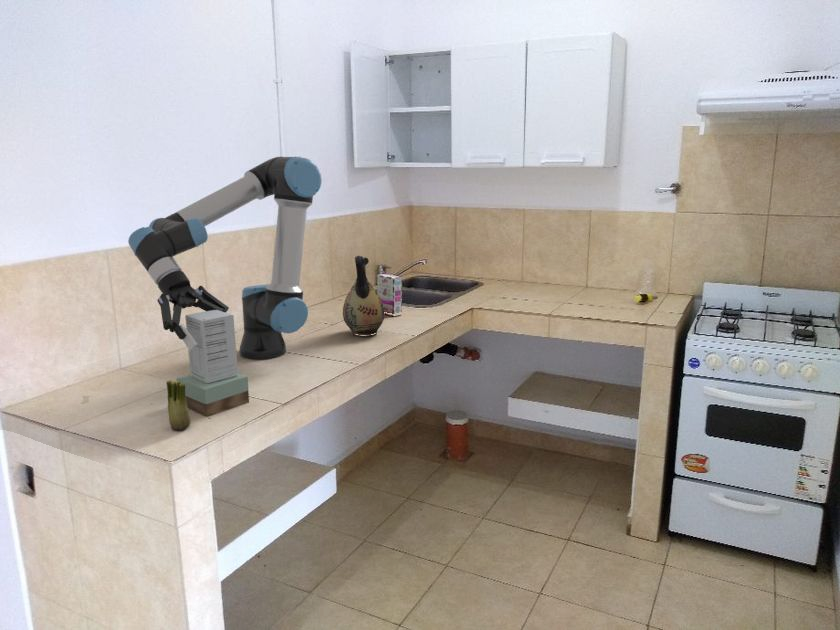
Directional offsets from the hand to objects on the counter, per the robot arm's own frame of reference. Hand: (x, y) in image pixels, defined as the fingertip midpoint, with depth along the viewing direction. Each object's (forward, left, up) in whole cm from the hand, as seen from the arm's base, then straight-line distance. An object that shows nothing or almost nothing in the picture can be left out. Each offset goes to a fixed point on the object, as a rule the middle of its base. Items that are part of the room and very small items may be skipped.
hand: (214, 341), depth 168 cm
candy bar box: (-106, -34, -18) cm, 113 cm away
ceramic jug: (-76, -20, -18) cm, 80 cm away
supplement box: (-1, -2, -10) cm, 11 cm away
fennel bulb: (+15, +6, -18) cm, 24 cm away
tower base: (0, -2, -18) cm, 18 cm away
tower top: (0, -2, -14) cm, 14 cm away
